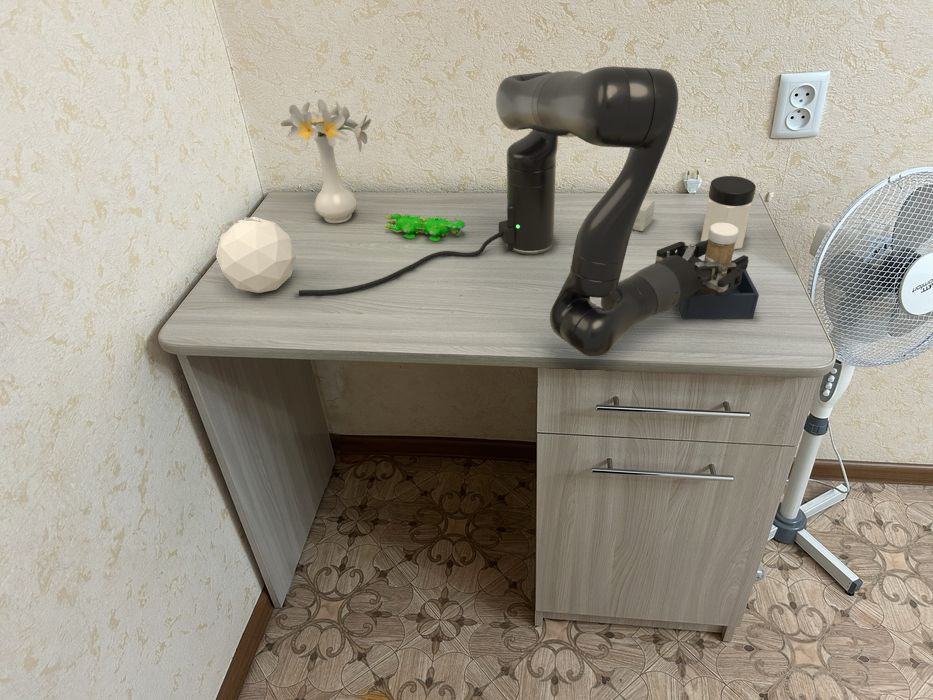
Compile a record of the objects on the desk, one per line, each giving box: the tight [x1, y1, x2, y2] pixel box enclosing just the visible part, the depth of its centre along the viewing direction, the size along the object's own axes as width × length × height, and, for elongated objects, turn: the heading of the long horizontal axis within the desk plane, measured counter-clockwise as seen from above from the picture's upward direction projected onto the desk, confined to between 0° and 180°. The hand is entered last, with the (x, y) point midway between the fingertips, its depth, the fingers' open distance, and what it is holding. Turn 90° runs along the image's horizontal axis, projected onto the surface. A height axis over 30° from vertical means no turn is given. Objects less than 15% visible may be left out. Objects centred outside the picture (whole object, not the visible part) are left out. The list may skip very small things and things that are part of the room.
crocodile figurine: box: [383, 213, 467, 242], centre depth 144 cm, size 7×18×4 cm, turn 74°
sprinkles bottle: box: [698, 223, 739, 294], centre depth 115 cm, size 5×5×13 cm
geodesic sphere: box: [215, 215, 297, 294], centre depth 127 cm, size 15×14×14 cm
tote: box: [676, 269, 760, 320], centre depth 119 cm, size 12×11×5 cm
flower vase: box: [280, 98, 372, 224], centre depth 146 cm, size 13×18×25 cm
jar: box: [700, 175, 757, 250], centre depth 133 cm, size 9×8×12 cm
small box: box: [632, 198, 655, 232], centre depth 143 cm, size 6×6×5 cm
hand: (727, 252), depth 116 cm, fingers open, 6 cm apart
